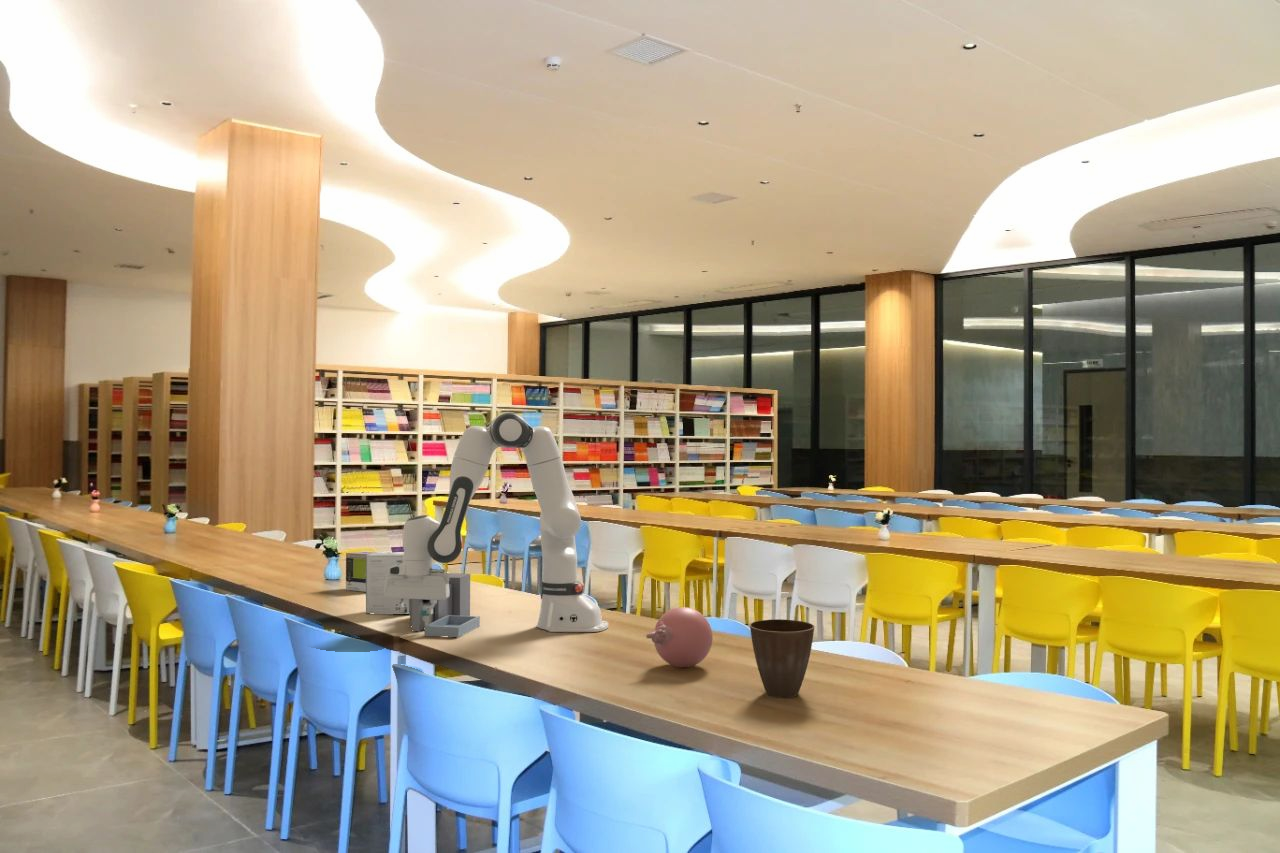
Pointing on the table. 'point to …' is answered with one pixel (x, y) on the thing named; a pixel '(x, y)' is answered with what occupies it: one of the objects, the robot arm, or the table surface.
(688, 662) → the pink balloon
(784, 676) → the plant pot
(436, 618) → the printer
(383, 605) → the hard drive box
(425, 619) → the white box teal stripe
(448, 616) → the tray
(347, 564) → the tea box
